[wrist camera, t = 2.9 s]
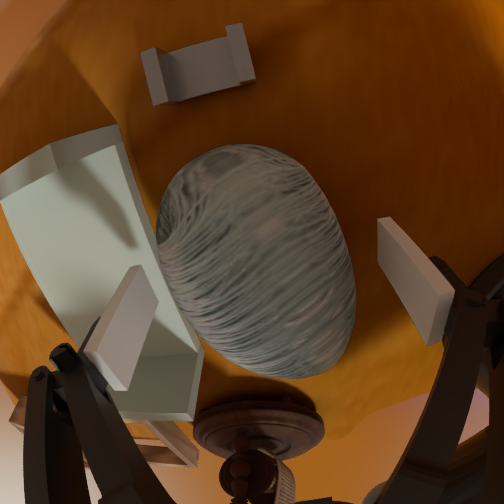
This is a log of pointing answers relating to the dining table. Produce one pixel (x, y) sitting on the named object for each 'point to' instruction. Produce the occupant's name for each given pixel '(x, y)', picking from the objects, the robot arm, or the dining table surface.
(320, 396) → the dining table surface
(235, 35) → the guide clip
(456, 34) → the dining table surface
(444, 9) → the dining table surface
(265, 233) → the grey oval rock
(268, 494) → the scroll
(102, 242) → the holder
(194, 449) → the frame
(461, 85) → the dining table surface
